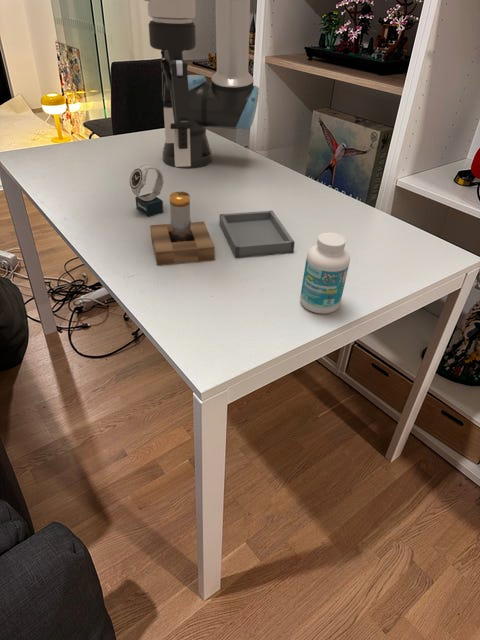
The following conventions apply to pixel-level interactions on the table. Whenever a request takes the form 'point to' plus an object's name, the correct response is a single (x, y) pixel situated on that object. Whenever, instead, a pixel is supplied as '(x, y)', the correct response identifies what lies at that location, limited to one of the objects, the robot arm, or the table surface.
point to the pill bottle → (325, 274)
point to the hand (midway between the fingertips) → (177, 153)
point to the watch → (149, 202)
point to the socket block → (182, 245)
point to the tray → (256, 234)
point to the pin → (180, 216)
